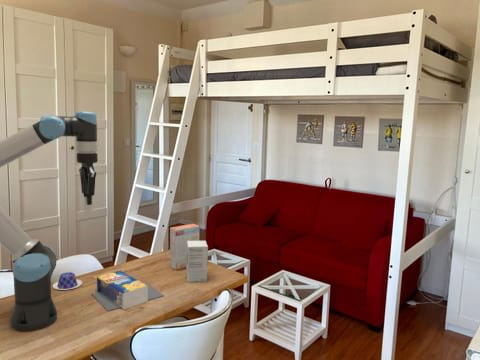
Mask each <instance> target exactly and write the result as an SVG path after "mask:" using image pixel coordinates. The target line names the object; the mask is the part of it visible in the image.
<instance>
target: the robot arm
mask: <svg viewBox="0 0 480 360" xmlns="http://www.w3.org/2000/svg"><path fill="white" fill-rule="evenodd" d="M61 137H75V149H76V152H77V153H76V162H77V163H78V164H81V167H80V168H79V169H78V171H79V177H80V187H81V188H80V189H81V193H82V194H83V207H84V209H83V211H84V213H85V214H89V213H90V214H91V213H93V212H94V211H93V196H95V190H96V177H97V171H95V167H94V164H96V163H98V161H99V160H98V153H97V152H98V146H99V143H98V120H97V114H96V112H93V111H76V112H75V113H74V116H73V115H72V116H64V115H42V116H41V117H40V121H39V120H38V121H37V122H36V123H34V124H32V125H31V124H30V126H28V127H26V128H24V129H22V130H20V131H17V132H16V133H14V134H11V135H9V136H8V137H6V138H3V139H2V140H0V168H2V167H4V166H6V165H8V164H11V163H12V162H14V161H15V160H17V159H20V158H21V157H23V156H25V155H27V154H29V153H31V152H33V151H35V150H37V149H38V148H41V147H43V146H44V145H47V144H49V143H50V142H54V141H55V140H57V139H59V138H61ZM21 227H22V226H20V225H19V224H18V223H17V222H16V221H15V219H13V218H12V217H11V216H10V215H9V214H8V213H7V212H6V210H5V209H4V208H3V207H2V206H1V205H0V245H2V246H3V247H4V249H6V250H7V252H9V253H10V255H11V262H12V263H13V267H12V268H13V269H12V276H13V289H14V307H13V309H12V313H11V316H10V320H9V322H10V324H9V325H10V328H11V329H12V330H14V331H18V332H34V331H38V330H42V329H44V328H47V327H49V326H51V325H53V324H54V323H55V322H56V321H57V320H58V310H57V308H56V306H55V303H54V301H53V298H52V283H51V281H52V280H51V279H52V276H53V273H54V271H55V269H56V266H57V255H56V252H55V251H54V249H53V248H52V247H50V246H48V245H44V244H43V243H42V241H40V240H39V239H35V238H34V239H33V238H31V237H30V235H28V233H26V232H25V230H24V229H22V228H21Z"/></svg>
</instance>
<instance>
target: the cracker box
mask: <svg viewBox="0 0 480 360" xmlns="http://www.w3.org/2000/svg"><path fill="white" fill-rule="evenodd" d="M169 231H170V232H169V234H170V235H169V239H170V241H169V242H170V243H169V245H170V246H169V247H170V249H169V250H170V259H169V260H170V263H169V264H170V268H171V269H173V270H174V271H180V270H184V269H187V241H200V225H198V224H195V223H188V224H184V225H179V226H172V227H169Z"/></svg>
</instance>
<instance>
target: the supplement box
mask: <svg viewBox="0 0 480 360" xmlns="http://www.w3.org/2000/svg"><path fill="white" fill-rule="evenodd" d="M208 253H209V246H208V244H207V241H206V240H199V241H187V268H186V272H185V273H186V280H187V282H189V283H191V282H192V283H193V282H196V281H197V282H208V257H209V256H208V255H209V254H208Z"/></svg>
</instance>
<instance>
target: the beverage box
mask: <svg viewBox="0 0 480 360" xmlns="http://www.w3.org/2000/svg"><path fill="white" fill-rule="evenodd" d="M142 282H143V281H140V279H139V280H138V279H137V278H134V277H133V276H131V275H130V274H127V273H126V272H124V271H122V270H117V271H113V272H109V273H105V274H102V275H97V276H96V287H97V288H96V290H97V292H96V293H98V292H100V293H102V294H103V295H105V296H106V297H108V298H109V299H110V300H112V301H113V302H115V303H116V304H118V305H119V306H121V308H120V309H122V310H126V309H130V308H133V307H135V306H139V305H142V304H143V303H146V302H148V301H149V300H148V285H146V284H144V283H142Z"/></svg>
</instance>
